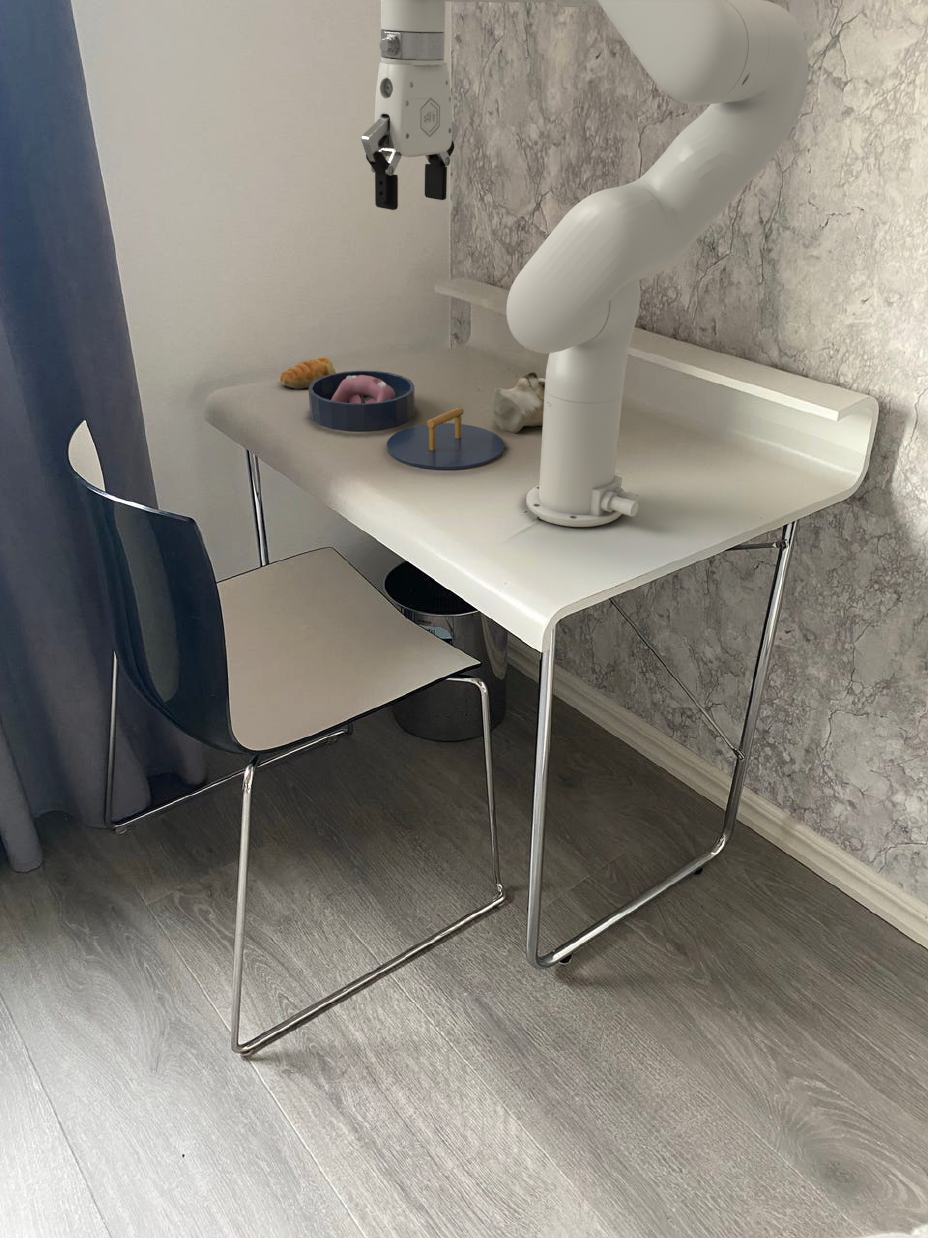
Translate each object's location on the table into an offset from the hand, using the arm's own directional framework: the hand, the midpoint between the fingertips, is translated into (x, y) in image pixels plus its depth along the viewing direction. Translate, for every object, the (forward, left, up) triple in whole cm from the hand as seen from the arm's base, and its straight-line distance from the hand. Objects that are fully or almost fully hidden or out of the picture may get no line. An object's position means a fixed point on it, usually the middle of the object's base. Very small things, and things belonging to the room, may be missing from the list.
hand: (411, 203), depth 127 cm
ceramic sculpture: (-7, -20, -34) cm, 40 cm away
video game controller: (+16, -6, -34) cm, 38 cm away
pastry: (+34, -13, -34) cm, 50 cm away
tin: (+16, -6, -34) cm, 38 cm away
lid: (-3, -3, -33) cm, 34 cm away
